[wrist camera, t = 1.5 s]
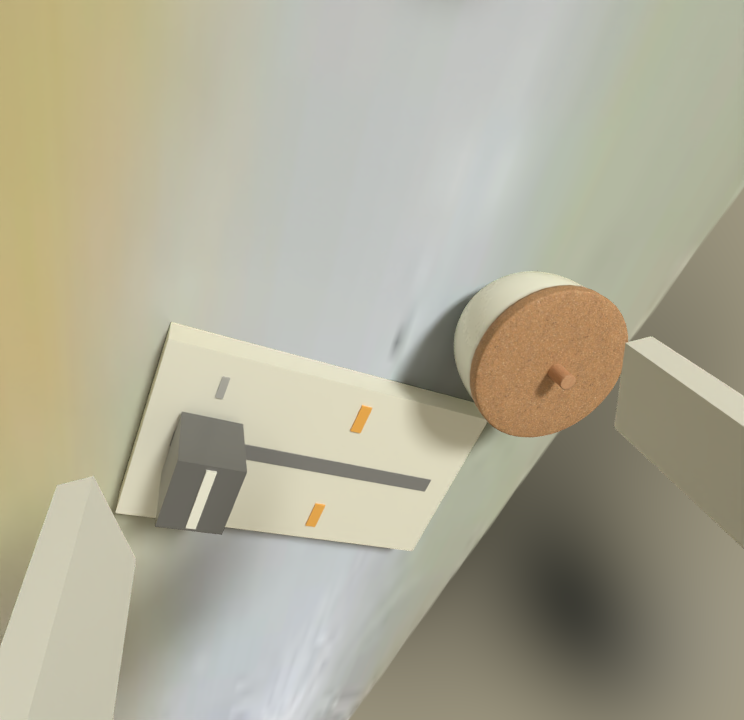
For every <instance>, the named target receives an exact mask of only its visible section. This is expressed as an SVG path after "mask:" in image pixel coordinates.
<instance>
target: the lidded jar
mask: <svg viewBox="0 0 744 720" xmlns="http://www.w3.org/2000/svg"><path fill="white" fill-rule="evenodd" d="M627 342H628V333H627V328H626V324H625V321H624V319H623V316H622V314H621V313H620V311H619V310H618V308H617V307H616V306H615V305H614V304H613V303H612V302H611V301H610V300H609V299H607V298H606V297H604V296H602V295H600V294H599V293H597V292H595V291H594V290H591V289H588V288H585V287H584V286H582V285H580V284H578V283H577V282H575V281H573V280H570V279H567V278H565V277H562V276H559V275H556V274H551V273H546V272H539V271H527V272H518V273H513V274H509V275H506V276H504V277H501V278H499V279H497V280H495V281H493V282H491V283H489V284H488V285H486V286H485V287H484V288H482V289H481V290H480V291H479V292H478V293H477V294H476V295H474V297H473V298H472V299H471V300H470V301H469V303H468V304H467V306H466V307H465V309H464V310H463V312H462V314H461V316H460V319H459V321H458V324H457V327H456V331H455V337H454V357H455V362H456V366H457V369H458V373H459V375H460V377H461V380H462V382H463V384H464V386H465V388H466V390H467V391H468V393H469V394H470V396H471V397H472V399H473V400H474V403H475V405H476V407H477V408H478V410H479V411H480V413H481V414H482V416H483V417H484V418H485V419H486V420H487V421H488V422H489V423H490V424H491V425H492V426H493V427H495V428H496V429H498V430H499V431H501V432H504V433H506V434H509V435H513V436H518V437H538V436H544V435H549V434H553V433H556V432H558V431H561V430H563V429H565V428H567V427H570V426H571V425H573V424H575V423H577V422H578V421H580V420H581V419H583V418H584V417H586V416H587V415H588V414H589V413H591V412H592V411H593V410H594V409H595V408H596V407H597V406H598V405H599V404H600V403H601V402H602V401H603V400H604V399H605V398H606V396H607V395H608V394H609V393H610V391H611V390H612V388H613V387H614V385H615V383H616V382H617V380H618V378H619V376H620V374H621V372H622V364H623V357H624V350H625V343H627Z"/></svg>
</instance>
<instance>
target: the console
mask: <svg viewBox="0 0 744 720" xmlns="http://www.w3.org/2000/svg"><path fill="white" fill-rule="evenodd" d="M181 412H187V413H192V414H197V415H202V416H207V417H212V418H216V419H221V420H226V421H231V422H236V423H241V424H243V429H244V441H245V453H246V465H247V474H246V476H245V479H244V481H243V484H242V486H241V489H240V491H239V494H238V496H237V499H236V501H235V504H234V506H233V508H232V511H231V513H230V516H229V518H228V521H227V523H226V526H225V527H229V528H236V529H244V530H252V531H260V532H268V533H275V534H283V535H291V536H299V537H307V538H314V539H322V540H330V541H338V542H346V543H353V544H361V545H369V546H377V547H385V548H392V549H400V550H408V551H413V549H414V547H415V546H416V544H417V542H418V540H419V539H420V537H421V535H422V534H423V532H424V530H425V528H426V527H427V525H428V523H429V522H430V520H431V518H432V516H433V515H434V513H435V511H436V510H437V508H438V506H439V504H440V503H441V501H442V499H443V498H444V496H445V494H446V492H447V491H448V489H449V487H450V485H451V484H452V482H453V480H454V479H455V477H456V475H457V473H458V472H459V470H460V468H461V467H462V465H463V463H464V461H465V460H466V458H467V456H468V455H469V453H470V451H471V449H472V448H473V446H474V444H475V443H476V441H477V439H478V437H479V436H480V434H481V432H482V430H483V429H484V427H485V425H486V424H487V422H488V421H487V420H486V419H485V418H484V417H483V416H482V414H481V413H480V411H479V410H478V408H477V407H476V405H475V403H474V402H471V401H467V400H463V399H459V398H456V397H452V396H448V395H444V394H440V393H437V392H433V391H429V390H425V389H422V388H418V387H414V386H410V385H407V384H403V383H399V382H395V381H392V380H388V379H384V378H380V377H377V376H373V375H369V374H365V373H362V372H358V371H354V370H350V369H347V368H343V367H339V366H335V365H331V364H328V363H324V362H320V361H316V360H313V359H309V358H305V357H301V356H298V355H294V354H290V353H286V352H283V351H279V350H275V349H271V348H268V347H264V346H260V345H256V344H253V343H249V342H245V341H241V340H237V339H234V338H230V337H226V336H222V335H219V334H215V333H211V332H207V331H204V330H200V329H196V328H192V327H189V326H185V325H181V324H177V323H174V322H171V324H170V327H169V330H168V334H167V337H166V340H165V344H164V347H163V350H162V354H161V357H160V360H159V363H158V367H157V370H156V373H155V377H154V380H153V383H152V387H151V390H150V393H149V396H148V400H147V403H146V406H145V410H144V413H143V416H142V420H141V423H140V426H139V429H138V433H137V436H136V439H135V443H134V446H133V449H132V453H131V456H130V459H129V462H128V466H127V469H126V472H125V476H124V479H123V482H122V485H121V489H120V494H119V498H118V503H117V508H116V512H115V513H119V514H127V515H135V516H143V517H151V518H156V513H157V505H158V497H159V489H160V481H161V472H162V469H163V466H164V463H165V460H166V457H167V454H168V451H169V448H170V445H171V442H172V439H173V436H174V433H175V430H176V427H177V424H178V421H179V418H180V415H181Z"/></svg>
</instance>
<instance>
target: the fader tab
mask: <svg viewBox="0 0 744 720" xmlns="http://www.w3.org/2000/svg"><path fill="white" fill-rule="evenodd" d="M246 474H247V465H246V453H245V441H244V429H243V424H241V423H236V422H231V421H226V420H221V419H216V418H212V417H207V416H202V415H197V414H192V413H187V412H181V415H180V418H179V421H178V424H177V427H176V430H175V433H174V436H173V439H172V442H171V445H170V448H169V451H168V454H167V457H166V460H165V463H164V466H163V469H162V472H161V481H160V489H159V497H158V505H157V513H156V522H155V526H156V527H164V528H172V529H180V530H188V531H196V532H205V533H213V534H221V535H222V533H223V531H224V528H225V526H226V523H227V521H228V518H229V516H230V513H231V511H232V508H233V506H234V504H235V501H236V499H237V496H238V494H239V491H240V489H241V486H242V484H243V481H244V479H245V476H246Z"/></svg>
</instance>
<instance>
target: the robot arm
mask: <svg viewBox="0 0 744 720" xmlns="http://www.w3.org/2000/svg"><path fill="white" fill-rule="evenodd" d="M614 428H615V429H616V430H617V431H618V432H619V433H620V434H622V436H624V437H625V438H626V439H627V440H628V441H629V442H630V443H631V444H632V445H633V446H634V447H635V448H636V449H637V450H639V451H640V452H641V453H642V454H643V455H644V456H645V457H646V458H647V459H648V460H649V461H650V462H651V463H652V464H653V465H655V466H656V467H657V468H658V469H659V470H660V471H661V472H662V473H663V474H664V475H665V476H666V477H668V478H669V479H670V480H671V481H672V482H673V483H674V484H675V485H676V486H677V487H678V488H679V489H680V490H681V491H682V492H683V493H685V494H686V495H687V496H688V497H689V498H690V499H691V500H692V501H693V502H694V503H695V504H696V505H697V506H698V507H699V508H700V509H702V510H703V511H704V512H705V513H706V514H707V515H708V516H709V517H710V518H711V519H712V520H714V521H715V523H717V524H718V525H719V526H720V527H721V528H722V529H723V530H724V531H725V532H726V533H727V534H728V535H729V536H731V537H732V538H733V539H734V540H735V541H736V542H737V543H738V544H739V545H740V546H741V547H742V548H743V549H744V396H743V395H741V394H740V393H738V392H737V391H735V390H734V389H732V388H731V387H729V386H727V385H726V384H724V383H723V382H721V381H720V380H718V379H717V378H715V377H714V376H712V375H710V374H709V373H707V372H706V371H704V370H703V369H701V368H700V367H698V366H696V365H695V364H694V363H692V362H691V361H689V360H687V359H686V358H684V357H683V356H681V355H680V354H678V353H677V352H675V351H674V350H672V349H670V348H669V347H667V346H666V345H664V344H663V343H661V342H660V341H658V340H657V339H655V338H654V337H652V336H651V337H647V338H643V339H639V340H635V341H631V342H627V343H625V350H624V357H623V364H622V372H621V379H620V387H619V394H618V402H617V408H616V416H615V424H614ZM135 564H136V558H135V556H134V554H133V552H132V550H131V548H130V546H129V544H128V542H127V540H126V538H125V536H124V534H123V533H122V531H121V529H120V527H119V525H118V523H117V521H116V519H115V517H114V515H113V513H112V511H111V509H110V507H109V505H108V503H107V501H106V499H105V497H104V495H103V493H102V491H101V489H100V487H99V486H98V484H97V482H96V480H95V478H94V476H92V477H88V478H84V479H80V480H76V481H72V482H68V483H64V484H60V485H57V487H56V490H55V492H54V495H53V498H52V501H51V504H50V507H49V509H48V512H47V515H46V518H45V521H44V524H43V527H42V529H41V532H40V535H39V538H38V541H37V544H36V547H35V549H34V552H33V555H32V558H31V561H30V564H29V566H28V569H27V572H26V575H25V578H24V581H23V584H22V586H21V589H20V592H19V595H18V598H17V601H16V603H15V606H14V609H13V612H12V615H11V618H10V621H9V623H8V626H7V629H6V632H5V635H4V638H3V640H2V643H1V646H0V720H113V715H114V708H115V702H116V695H117V688H118V681H119V674H120V667H121V660H122V653H123V646H124V639H125V633H126V626H127V619H128V612H129V605H130V598H131V591H132V584H133V577H134V571H135Z"/></svg>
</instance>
